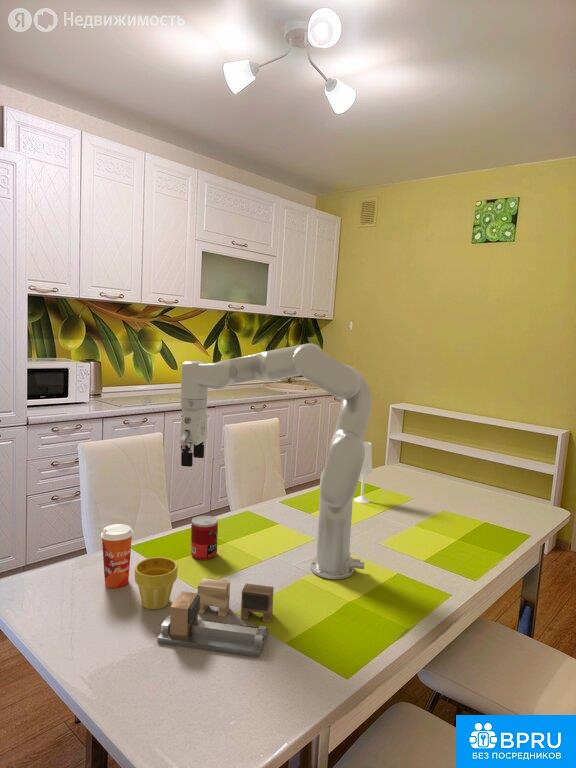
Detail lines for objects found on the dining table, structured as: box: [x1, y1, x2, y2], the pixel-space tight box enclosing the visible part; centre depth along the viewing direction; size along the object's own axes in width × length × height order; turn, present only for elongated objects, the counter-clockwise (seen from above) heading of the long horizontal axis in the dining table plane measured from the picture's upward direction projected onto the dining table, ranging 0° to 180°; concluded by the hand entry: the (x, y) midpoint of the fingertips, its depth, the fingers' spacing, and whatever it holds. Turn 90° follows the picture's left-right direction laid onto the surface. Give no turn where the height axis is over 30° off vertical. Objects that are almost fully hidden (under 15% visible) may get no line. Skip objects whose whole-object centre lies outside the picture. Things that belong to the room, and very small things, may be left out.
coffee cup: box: [100, 523, 135, 589], centre depth 142 cm, size 8×8×15 cm
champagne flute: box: [353, 441, 373, 504], centre depth 216 cm, size 7×7×24 cm
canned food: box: [190, 515, 219, 561], centre depth 161 cm, size 8×8×11 cm
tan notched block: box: [197, 577, 231, 617], centre depth 132 cm, size 5×7×7 cm, turn 81°
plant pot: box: [134, 556, 178, 610], centre depth 133 cm, size 10×10×10 cm
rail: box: [156, 591, 269, 658], centre depth 120 cm, size 23×9×8 cm, turn 81°
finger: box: [240, 583, 275, 623], centre depth 129 cm, size 5×7×7 cm, turn 81°
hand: (192, 461), depth 156 cm, fingers open, 9 cm apart
